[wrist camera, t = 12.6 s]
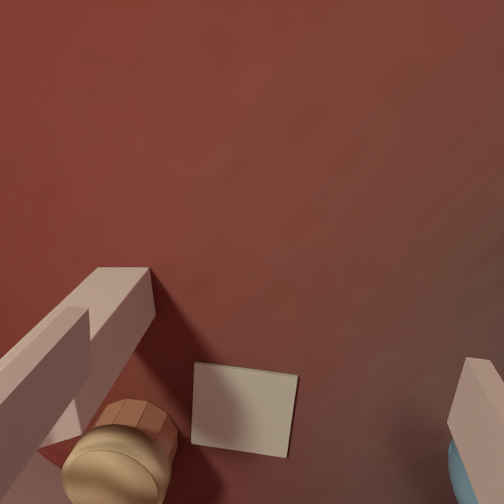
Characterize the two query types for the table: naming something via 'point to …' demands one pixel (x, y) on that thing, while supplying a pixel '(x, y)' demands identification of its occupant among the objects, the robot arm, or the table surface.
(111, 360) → the milk
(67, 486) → the brass lid
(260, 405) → the silicone mat
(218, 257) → the table surface
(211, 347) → the table surface
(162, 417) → the terracotta bowl
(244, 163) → the table surface
